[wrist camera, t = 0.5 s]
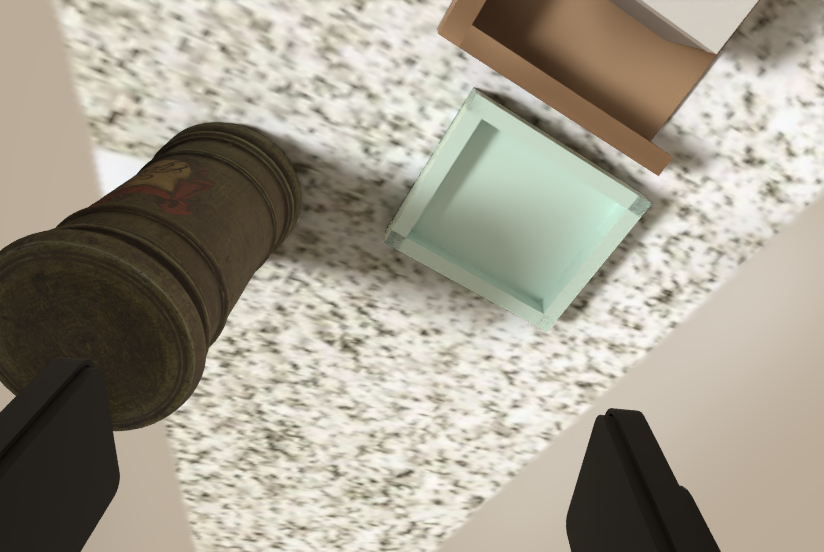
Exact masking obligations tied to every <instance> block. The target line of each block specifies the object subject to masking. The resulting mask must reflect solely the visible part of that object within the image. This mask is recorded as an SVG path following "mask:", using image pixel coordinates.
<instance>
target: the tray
mask: <svg viewBox="0 0 824 552" xmlns="http://www.w3.org/2000/svg"><path fill="white" fill-rule="evenodd" d="M650 206H651V203H650V202H649V201H648V200H647V199H646V198H645V197H644V196H643V195H642V194H641V193H640V192H639V191H637V190H635V189H634V188H632V187H631V186H629V185H627V184H626V183H624V182H623V181H621V180H620V179H618V178H616V177H615V176H613V175H612V174H610V173H608V172H607V171H605V170H604V169H602V168H601V167H599V166H597V165H596V164H594V163H593V162H591V161H590V160H588V159H586V158H585V157H583V156H582V155H580V154H578V153H577V152H575V151H574V150H572V149H571V148H569V147H567V146H566V145H564V144H563V143H561V142H559V141H558V140H556V139H555V138H553V137H552V136H550V135H548V134H547V133H545V132H544V131H542V130H541V129H539V128H537V127H536V126H534V125H533V124H531V123H529V122H528V121H526V120H525V119H523V118H522V117H520V116H518V115H517V114H515V113H514V112H512V111H511V110H509V109H507V108H506V107H504V106H503V105H501V104H499V103H498V102H496V101H495V100H493V99H492V98H490V97H488V96H487V95H485V94H484V93H482V92H480V91H479V90H477V89H476V88H473V89H472V91H471V93H470V94H469V96H468V97H467V99H466V101H465V102H464V104H463V106H462V107H461V109H460V110H459V112H458V114H457V115H456V117H455V119H454V120H453V122H452V123H451V125H450V127H449V128H448V130H447V132H446V133H445V135H444V136H443V138H442V140H441V141H440V143H439V145H438V146H437V148H436V149H435V151H434V153H433V154H432V156H431V158H430V159H429V161H428V162H427V164H426V166H425V167H424V169H423V170H422V172H421V174H420V175H419V177H418V179H417V180H416V182H415V183H414V185H413V187H412V188H411V190H410V192H409V193H408V195H407V196H406V198H405V200H404V201H403V203H402V205H401V206H400V208H399V209H398V211H397V213H396V214H395V216H394V218H393V219H392V221H391V222H390V224H389V226H388V227H387V229H386V233H385V239H384V243H385V244H387V245H389V246H391V247H392V248H394V249H396V250H398V251H400V252H402V253H403V254H405V255H407V256H409V257H411V258H413V259H414V260H416V261H418V262H420V263H422V264H423V265H425V266H427V267H429V268H431V269H433V270H434V271H436V272H438V273H440V274H442V275H444V276H445V277H447V278H449V279H451V280H453V281H455V282H456V283H458V284H460V285H462V286H464V287H466V288H467V289H469V290H471V291H473V292H475V293H476V294H478V295H480V296H482V297H484V298H486V299H487V300H489V301H491V302H493V303H495V304H497V305H498V306H500V307H502V308H504V309H506V310H508V311H509V312H511V313H513V314H515V315H517V316H519V317H520V318H522V319H524V320H526V321H528V322H530V323H531V324H533V325H535V326H537V327H539V328H540V329H542V330H544V331H546V332H548V330H549V329H550V328H551V327H552V325H553V324H554V323H555V322H556V321H557V319H558V318H559V317H560V316H561V314H562V313H563V312H564V311H565V310H566V308H567V307H568V306H569V305H570V303H571V302H572V301H573V300H574V299H575V297H576V296H577V295H578V294H579V292H580V291H581V290H582V289H583V288H584V286H585V285H586V284H587V283H588V281H589V280H590V279H591V278H592V277H593V275H594V274H595V273H596V272H597V270H598V269H599V268H600V267H601V266H602V264H603V263H604V262H605V261H606V259H607V258H608V257H609V256H610V255H611V253H612V252H613V251H614V250H615V248H616V247H617V246H618V245H619V244H620V242H621V241H622V240H623V239H624V237H625V236H626V235H627V234H628V233H629V231H630V230H631V229H632V228H633V226H634V225H635V224H636V223H637V222H638V220H639V219H640V218H641V217H642V215H643V214H644V213H645V212H646V211H647V209H648V208H649V207H650Z"/></svg>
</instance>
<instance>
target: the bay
mask: <svg viewBox="0 0 824 552" xmlns="http://www.w3.org/2000/svg"><path fill="white" fill-rule="evenodd" d="M759 1H760V0H758V1H757V3H758V2H759ZM757 3H756V4H757ZM756 4H755V5H754V7H755V6H756ZM754 7H753V8H754ZM753 8H752V9H751V10H750V12H751V11H752V10H753ZM750 12H749V13H750ZM749 13H748V14H747V16H748V15H749ZM747 16H746V17H747ZM746 17H745V18H744V19H743V21H744V20H745V19H746ZM743 21H742V22H743ZM742 22H741V23H740V25H741V24H742ZM740 25H739V26H740ZM739 26H738V27H737V28H736V30H737V29H738V28H739ZM437 30H438V34H439V35H441V36H442V37H444V38H445V39H447V40H448V41H450V42H452V43H453V44H455V45H456V46H458V47H459V48H461V49H462V50H464V51H466V52H467V53H469V54H470V55H472V56H473V57H475V58H476V59H478V60H479V61H481V62H483V63H484V64H486V65H487V66H489V67H490V68H492V69H493V70H495V71H496V72H498V73H500V74H501V75H503V76H504V77H506V78H507V79H509V80H510V81H512V82H514V83H515V84H517V85H518V86H520V87H521V88H523V89H524V90H526V91H527V92H529V93H531V94H532V95H534V96H535V97H537V98H538V99H540V100H541V101H543V102H545V103H546V104H548V105H549V106H551V107H552V108H554V109H555V110H557V111H558V112H560V113H562V114H563V115H565V116H566V117H568V118H569V119H571V120H572V121H574V122H575V123H577V124H579V125H580V126H582V127H583V128H585V129H586V130H588V131H589V132H591V133H593V134H594V135H596V136H597V137H599V138H600V139H602V140H603V141H605V142H606V143H608V144H610V145H611V146H613V147H614V148H616V149H617V150H619V151H620V152H622V153H624V154H625V155H627V156H628V157H630V158H631V159H633V160H634V161H636V162H637V163H639V164H641V165H642V166H644V167H645V168H647V169H648V170H650V171H651V172H653V173H654V174H656V175H658V176H659V175H660V173H661V172H662V171H663V170H664V168H665V167H666V166H667V165H668V164H669V162H670V161H671V160H672V159H673V157H672V156H670V155H669V154H667V153H666V152H665V151H663V150H662V149H660V148H659V147H657V146H656V145H655V144H653V143H652V142H650V141H651V140H652V138H653V137H654V136H655V134H656V133H657V132H658V131H659V129H660V128H661V127H662V125H663V124H664V123H665V122H666V120H667V119H668V118H669V116H670V115H671V114H672V113H673V111H674V110H675V109H676V107H677V106H678V105H679V104H680V102H681V101H682V100H683V98H684V97H685V96H686V95H687V93H688V92H689V91H690V89H691V88H692V87H693V86H694V84H695V83H696V82H697V80H698V79H699V78H700V77H701V75H702V74H703V73H704V71H705V70H706V69H707V68H708V66H709V65H710V64H711V62H712V61H713V60H714V58H715V57H716V56H717V55H718V53H719V52H720V51H721V49H722V48H723V47H724V46H725V44H726V43H727V42H728V40H729V39H730V38H731V37H732V35H733V34H734V33H735V31H736V30H735V31H734V32H733V34H732V35H731V36H730V38H729V39H728V40H727V41H726V43H725V44H724V45H723V47H722V48H721V49H720V50H719V52H718V53H717V54H714V53H710V52H707V51H705V50H703V49H699V48H695V47H691V46H686V45H682V44H678V43H674V42H669V41H665V40H664V39H662V38H661V37H659V36H658V35H657V34H655V33H654V32H652V31H651V30H650V29H648V28H647V27H645V26H644V25H643V24H641V23H640V22H638V21H637V20H635V19H634V18H633V17H631V16H630V15H628V14H627V13H626V12H624V11H623V10H621V9H620V8H619V7H617V6H616V5H614V4H613V3H612V2H610V1H609V0H453V1H452V3H451V5H450V7H449V8H448V10H447V12H446V14H445V15H444V17H443V19H442V21H441V22H440V24H439V26H438V28H437Z"/></svg>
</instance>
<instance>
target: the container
mask: <svg viewBox="0 0 824 552" xmlns="http://www.w3.org/2000/svg"><path fill="white" fill-rule="evenodd" d="M300 208H301V190H300V185H299V181H298V178H297V175H296V173H295V171H294V169H293V167H292V165H291V164H290V162H289V160H288V159H287V158H286V156H285V155H284V154H283V153H282V151H281V150H280V149H279V148H278V147H277V146H276V145H275V144H274V143H272V142H271V141H270V140H268V139H267V138H265V137H264V136H262V135H261V134H259V133H257V132H255V131H253V130H251V129H249V128H246V127H243V126H240V125H235V124H230V123H221V122H211V123H203V124H198V125H195V126H192V127H189V128H187V129H185V130H183V131H181V132H180V133H178V134H177V135H175V136H174V137H173V138H172V139H171V140H170V141H169V142H168V143H167V144H166V145H164V146H163V147H162V148H161V149H160V150H159V151H158V152H157V153H156V155H155V156H154V157H153V159H152V160H151V161H150V162H148V163H147V164H146V165H145V166H144V167H143V168H142V169H141V170H140V171H139V172H138V173H137V175H135V176H134V177H132V178H131V179H129V180H128V181H127V182H125V183H123V184H122V185H120V186H119V187H117V188H116V189H115V190H113V191H112V192H110V193H108V194H107V195H106V196H104V197H103V198H101V199H100V200H99V201H97V202H95V203H94V204H92V205H91V206H89V207H88V208H85V209H82V210H79V211H77V212H76V213H73V214H72V215H70V216H68V217H67V218H66V219H64V220H63V221H62V222H61V223H60V224H59V225H58V226H57V227H56V228H54V229H51V230H49V231H43V232H39V233H35V234H31V235H28V236H26V237H23V238H20V239H18V240H16V241H14V242H13V243H11V244H9V245H8V246H6V247H4V248H3V249H2V250H1V251H0V381H1V382H2V383H3V384H4V386H5V387H6V388H7V389H9V390H10V391H11V392H12V393H13V394H14V395H16V396H17V395H18V394H19V393H20V392H21V391H22V390H23V389H24V388H25V387H26V386H27V385H28V384H29V383H30V382H31V381H32V380H33V379H34V378H35V377H36V376H37V375H38V374H39V373H40V372H41V371H42V370H43V369H44V368H45V367H46V366H47V365H48V364H49V363H50V362H51V361H52V360H53V359H55V358H57V357H67V358H78V359H89V360H91V361H92V362H93V363H94V365H95V368H99V369H101V370H102V371H103V375H104V380H105V386H106V392H107V399H108V405H109V411H110V417H111V423H112V429H113V431H125V430H133V429H138V428H143V427H145V426H148V425H151V424H154V423H156V422H158V421H160V420H162V419H164V418H166V417H167V416H169V415H170V414H172V413H173V412H174V411H176V410H177V409H178V408H179V407H180V406H182V405H183V404H184V403H185V402H186V401H187V400H188V398H189V397H190V396H191V395H192V393H193V392H194V390H195V389H196V387H197V385H198V384H199V381H200V379H201V377H202V374H203V371H204V368H205V361H206V356H207V353H208V349H209V347H210V346H211V345H212V344H213V343H214V342H215V341H216V340H217V338H218V337H219V335H220V334H221V332H222V330H223V328H224V326H225V324H226V321H227V318H228V316H229V314H230V312H231V311H232V309H233V308H234V306H235V304H236V303H237V301H238V299H239V298H240V296H241V294H242V293H243V291H244V289H245V287H246V286H247V284H248V282H249V281H250V279H251V278H252V276H253V274H254V273H255V271H257V270H258V269H259V268H260V267H261V266H262V265H263V264H264V263H265V261H266V260H267V259H268V258H269V256H270V255H271V254H272V253H273V252H274V251H276V250H277V249H278V247H279V246H280V245H281V244H282V243H283V242H284V240H285V239H286V237H287V236H288V235H289V234H290V232H291V231H292V229H293V228H294V226H295V224H296V221H297V219H298V216H299V213H300Z"/></svg>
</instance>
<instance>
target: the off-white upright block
mask: <svg viewBox="0 0 824 552" xmlns="http://www.w3.org/2000/svg"><path fill="white" fill-rule="evenodd" d="M609 1H610V2H612V3H613V4H614V5H616V6H617V7H619V8H620V9H621V10H623V11H624V12H626V13H627V14H628V15H630V16H631V17H633V18H634V19H635V20H637V21H638V22H640V23H641V24H643V25H644V26H645V27H647V28H648V29H650V30H651V31H652V32H654V33H655V34H657V35H658V36H659V37H661V38H662V39H664V40H665V41H669V42H674V43H678V44H682V45H686V46H691V47H695V48H699V49H703V50H705V51H707V52H710V53H714V54H717V53H718V52H719V50H720V49H721V48H722V47H723V45H724V44H725V43H726V41H727V40H728V39H729V38H730V36H731V35H732V34H733V32H734V31H735V30H736V28H737V27H738V26H739V25H740V23H741V22H742V21H743V19H744V18H745V17H746V16H747V14H748V13H749V12H750V10H751V9H752V8H753V7H754V5H755V4H756V3H757V1H758V0H609Z"/></svg>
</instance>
